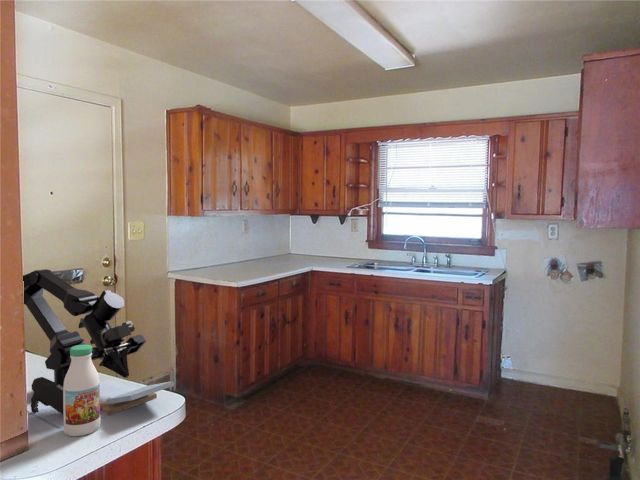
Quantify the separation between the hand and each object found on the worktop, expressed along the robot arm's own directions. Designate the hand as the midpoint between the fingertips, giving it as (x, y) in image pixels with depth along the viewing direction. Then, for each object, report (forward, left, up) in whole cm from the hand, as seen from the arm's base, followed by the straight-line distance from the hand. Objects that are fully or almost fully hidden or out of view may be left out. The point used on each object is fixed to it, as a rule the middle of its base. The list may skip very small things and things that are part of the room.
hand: (127, 376), depth 122 cm
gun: (-6, -15, -7) cm, 18 cm away
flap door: (+1, 0, -5) cm, 5 cm away
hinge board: (+1, 0, -7) cm, 7 cm away
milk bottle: (+6, -15, -7) cm, 18 cm away
